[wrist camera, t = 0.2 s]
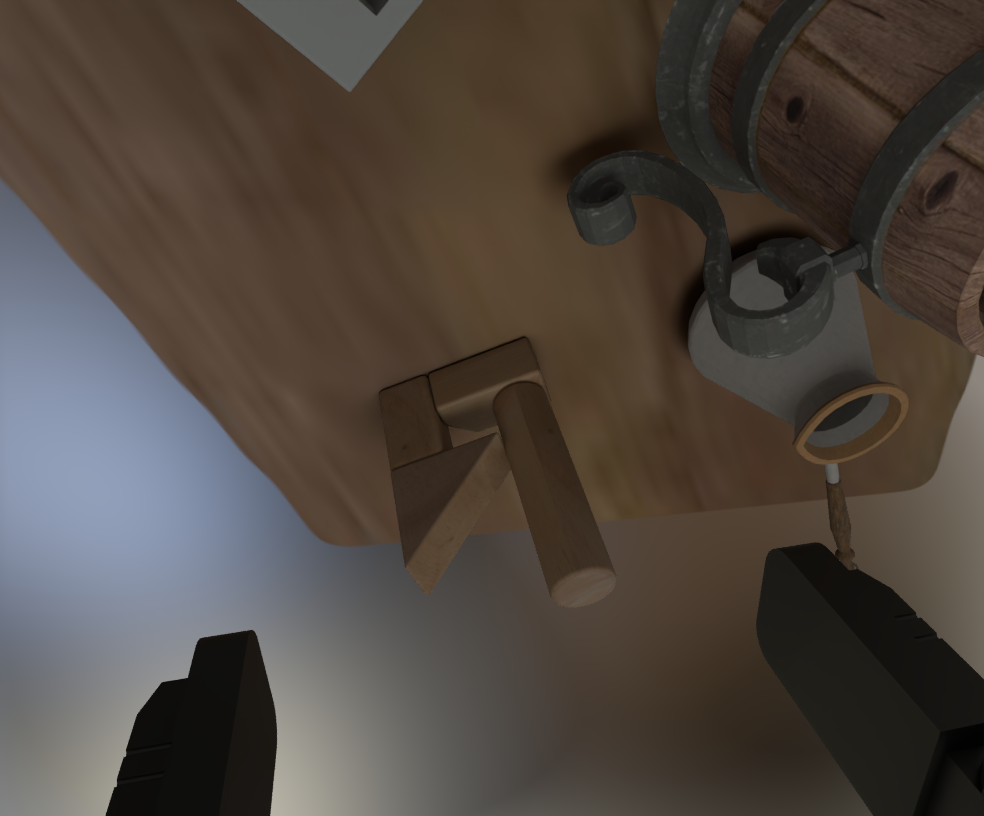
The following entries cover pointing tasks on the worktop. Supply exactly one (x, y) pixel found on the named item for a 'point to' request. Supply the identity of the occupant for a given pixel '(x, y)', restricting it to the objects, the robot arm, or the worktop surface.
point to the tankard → (819, 157)
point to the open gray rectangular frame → (336, 30)
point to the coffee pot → (808, 382)
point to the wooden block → (490, 470)
